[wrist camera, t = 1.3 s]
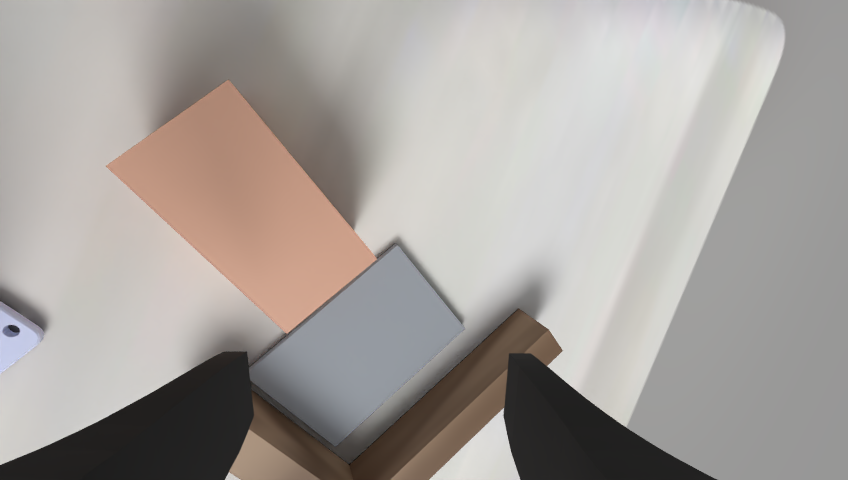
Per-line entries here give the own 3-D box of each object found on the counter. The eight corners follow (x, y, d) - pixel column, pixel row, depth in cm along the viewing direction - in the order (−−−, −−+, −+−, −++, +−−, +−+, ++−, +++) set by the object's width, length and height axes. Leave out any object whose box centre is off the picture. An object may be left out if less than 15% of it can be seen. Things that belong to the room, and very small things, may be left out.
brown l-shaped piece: (187, 394, 19) (174, 437, 16) (434, 187, 21) (458, 195, 18) (344, 504, 24) (354, 551, 21) (532, 328, 26) (562, 350, 23)
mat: (244, 371, 20) (244, 375, 20) (395, 242, 21) (397, 245, 21) (334, 442, 23) (335, 447, 22) (462, 325, 24) (465, 328, 24)
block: (150, 157, 16) (105, 166, 12) (239, 93, 17) (228, 79, 12) (282, 288, 20) (286, 333, 15) (353, 231, 20) (377, 259, 16)
